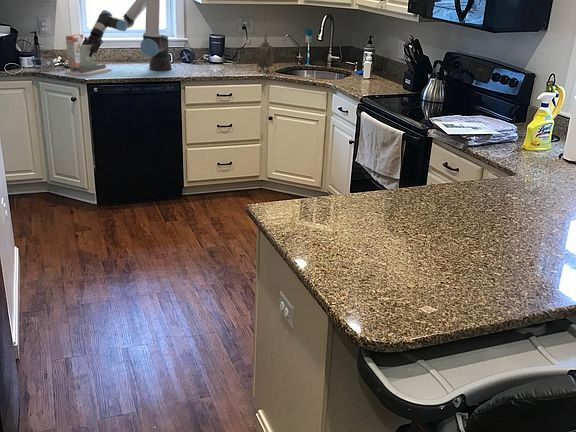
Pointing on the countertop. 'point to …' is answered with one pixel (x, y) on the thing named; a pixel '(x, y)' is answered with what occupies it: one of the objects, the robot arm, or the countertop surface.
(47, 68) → the french press
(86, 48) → the door panel
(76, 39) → the cracker box
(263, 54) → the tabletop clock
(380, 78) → the countertop surface
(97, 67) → the grey flat block
